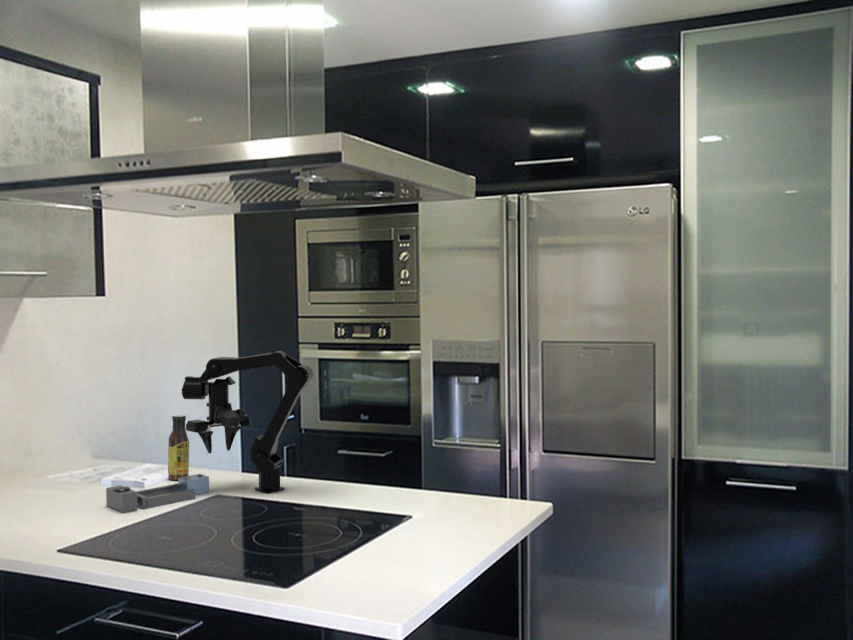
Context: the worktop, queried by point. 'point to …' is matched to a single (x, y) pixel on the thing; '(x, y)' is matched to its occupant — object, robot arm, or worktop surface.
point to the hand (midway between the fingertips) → (219, 451)
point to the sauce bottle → (178, 449)
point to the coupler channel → (145, 497)
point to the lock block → (194, 483)
